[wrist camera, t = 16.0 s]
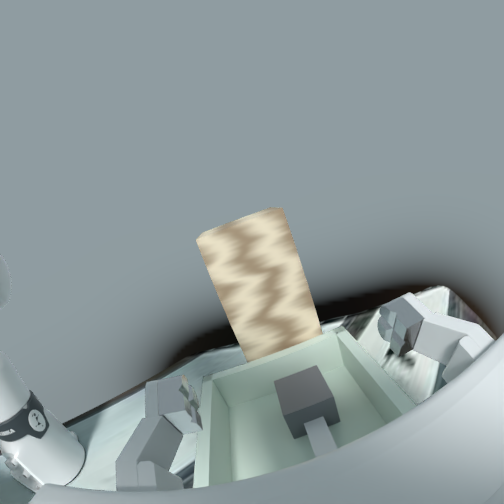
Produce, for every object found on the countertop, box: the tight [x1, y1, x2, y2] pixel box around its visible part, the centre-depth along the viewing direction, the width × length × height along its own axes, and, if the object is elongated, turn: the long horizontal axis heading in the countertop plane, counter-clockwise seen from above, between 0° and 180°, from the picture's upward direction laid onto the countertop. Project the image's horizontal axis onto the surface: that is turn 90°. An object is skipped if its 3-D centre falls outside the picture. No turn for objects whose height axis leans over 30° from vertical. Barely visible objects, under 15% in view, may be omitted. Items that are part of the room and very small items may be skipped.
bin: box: [193, 326, 417, 488], centre depth 26 cm, size 22×26×7 cm
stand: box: [196, 207, 322, 362], centre depth 43 cm, size 12×10×26 cm
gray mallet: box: [274, 365, 341, 457], centre depth 25 cm, size 6×18×5 cm, turn 5°
